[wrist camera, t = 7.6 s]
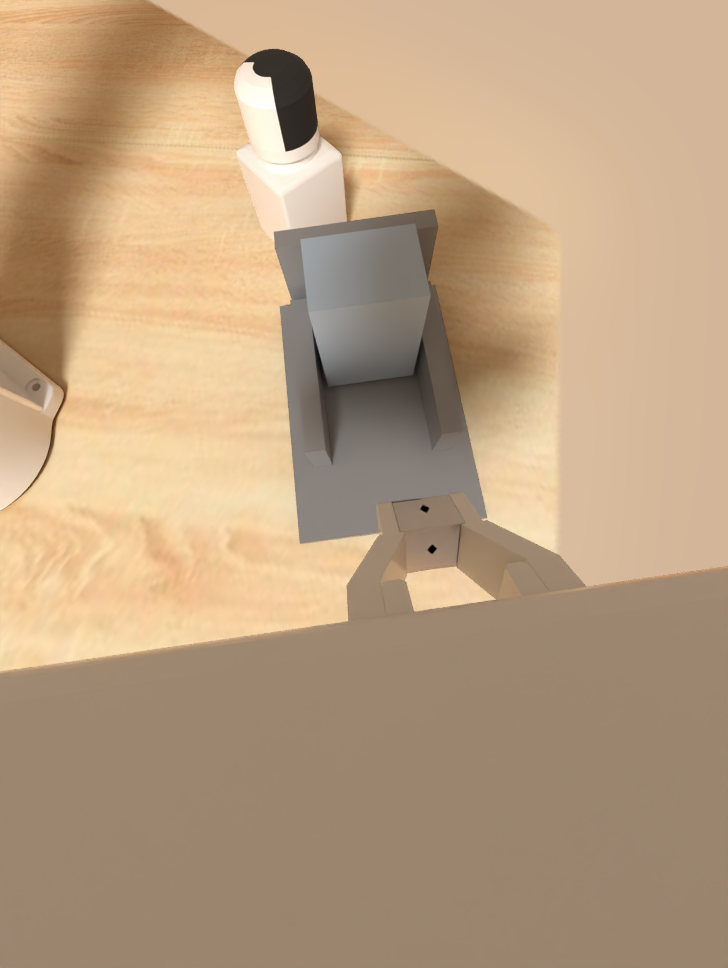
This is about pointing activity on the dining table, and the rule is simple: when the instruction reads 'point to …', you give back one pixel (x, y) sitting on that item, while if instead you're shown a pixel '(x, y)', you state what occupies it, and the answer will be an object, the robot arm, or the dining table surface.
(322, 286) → the key block
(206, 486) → the dining table surface
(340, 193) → the medicine bottle
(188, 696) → the robot arm
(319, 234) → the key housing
